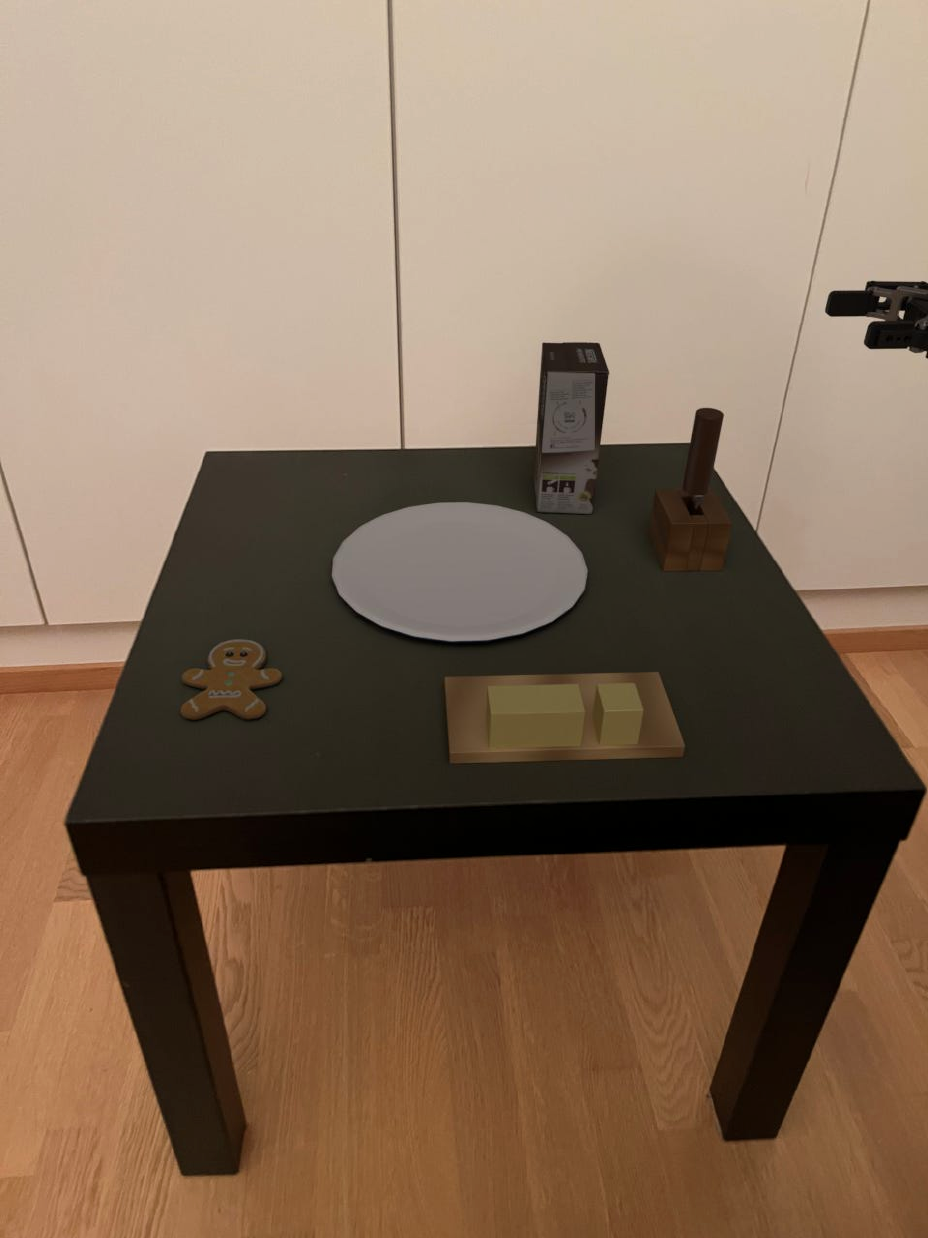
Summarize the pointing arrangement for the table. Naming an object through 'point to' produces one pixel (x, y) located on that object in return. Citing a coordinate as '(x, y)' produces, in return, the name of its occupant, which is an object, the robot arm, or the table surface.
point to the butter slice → (617, 713)
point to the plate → (459, 572)
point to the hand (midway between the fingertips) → (847, 318)
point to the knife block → (689, 531)
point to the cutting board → (654, 738)
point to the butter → (534, 716)
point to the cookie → (230, 681)
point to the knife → (702, 455)
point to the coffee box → (569, 426)
